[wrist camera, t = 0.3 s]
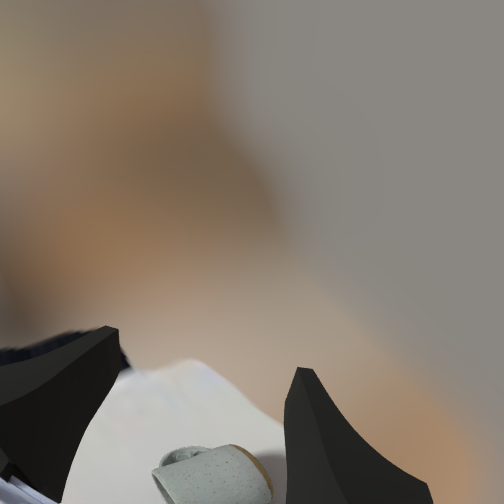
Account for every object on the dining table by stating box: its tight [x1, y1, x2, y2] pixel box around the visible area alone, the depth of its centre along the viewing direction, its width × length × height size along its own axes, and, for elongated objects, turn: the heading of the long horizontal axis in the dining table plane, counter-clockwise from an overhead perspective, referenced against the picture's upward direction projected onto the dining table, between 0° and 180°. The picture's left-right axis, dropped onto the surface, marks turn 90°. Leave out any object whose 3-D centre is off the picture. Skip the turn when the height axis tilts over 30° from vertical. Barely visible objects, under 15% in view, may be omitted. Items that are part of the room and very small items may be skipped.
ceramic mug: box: [151, 444, 273, 504], centre depth 19 cm, size 11×8×8 cm
